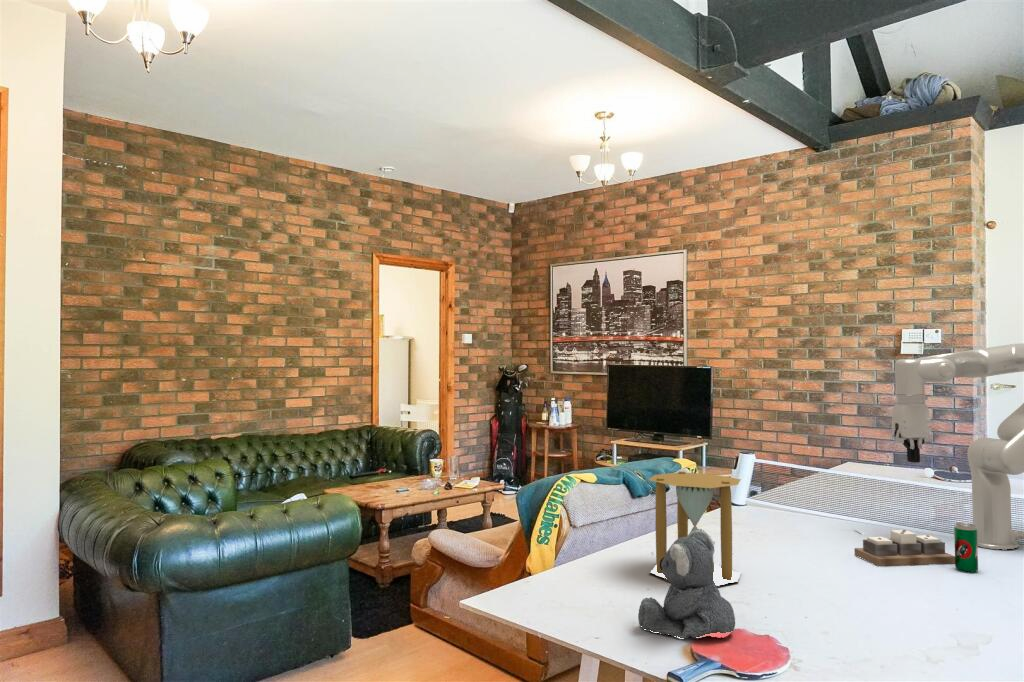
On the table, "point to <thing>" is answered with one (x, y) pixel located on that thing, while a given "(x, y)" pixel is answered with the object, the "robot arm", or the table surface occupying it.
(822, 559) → the table surface
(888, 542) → the one dot button
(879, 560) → the button panel
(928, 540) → the two dot button
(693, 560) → the koala plush
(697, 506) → the hourglass
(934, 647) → the table surface
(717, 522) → the table surface
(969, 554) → the soda can
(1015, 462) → the robot arm
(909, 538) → the three dot button
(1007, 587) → the table surface
